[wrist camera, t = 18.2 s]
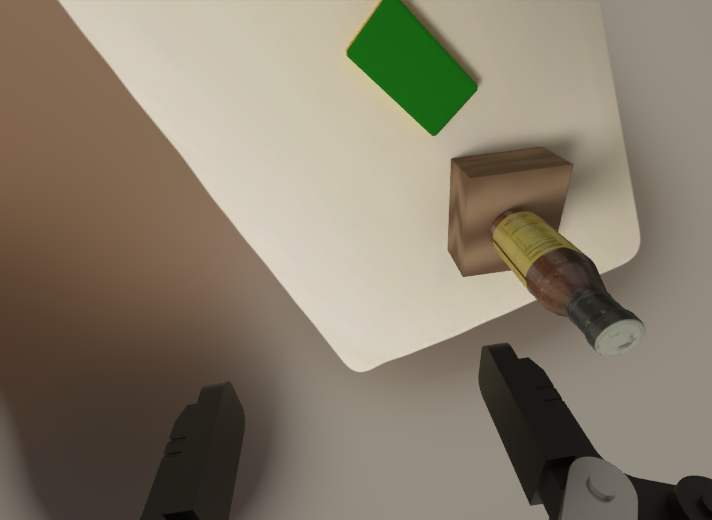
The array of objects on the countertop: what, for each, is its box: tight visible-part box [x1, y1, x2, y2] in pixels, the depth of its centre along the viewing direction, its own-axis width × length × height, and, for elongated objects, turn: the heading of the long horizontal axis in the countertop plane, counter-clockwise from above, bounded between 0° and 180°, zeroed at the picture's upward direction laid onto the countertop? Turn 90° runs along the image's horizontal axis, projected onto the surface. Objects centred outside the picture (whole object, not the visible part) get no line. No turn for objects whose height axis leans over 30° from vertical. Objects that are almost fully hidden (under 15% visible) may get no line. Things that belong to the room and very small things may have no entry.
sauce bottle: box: [489, 209, 645, 356], centre depth 38 cm, size 7×6×20 cm
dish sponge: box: [346, 0, 478, 136], centre depth 41 cm, size 7×14×2 cm, turn 50°
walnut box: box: [448, 147, 573, 277], centre depth 49 cm, size 15×12×7 cm
